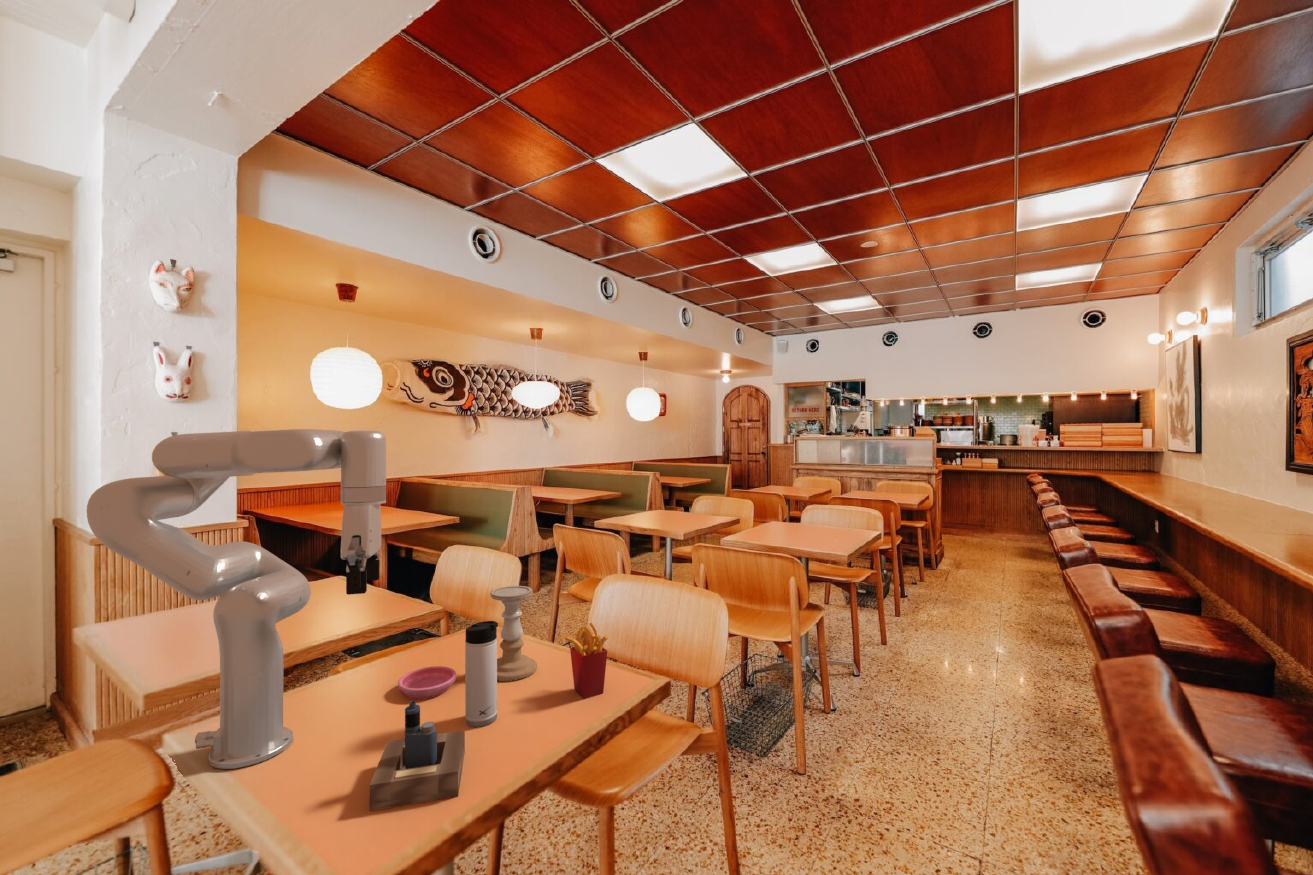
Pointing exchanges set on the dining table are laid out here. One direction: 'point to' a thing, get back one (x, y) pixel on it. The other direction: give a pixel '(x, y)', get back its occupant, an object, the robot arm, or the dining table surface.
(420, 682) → the saucer
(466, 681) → the travel mug
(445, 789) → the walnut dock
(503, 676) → the candle holder
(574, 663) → the french fries
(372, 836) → the dining table surface
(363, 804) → the dining table surface
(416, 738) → the vaping device
